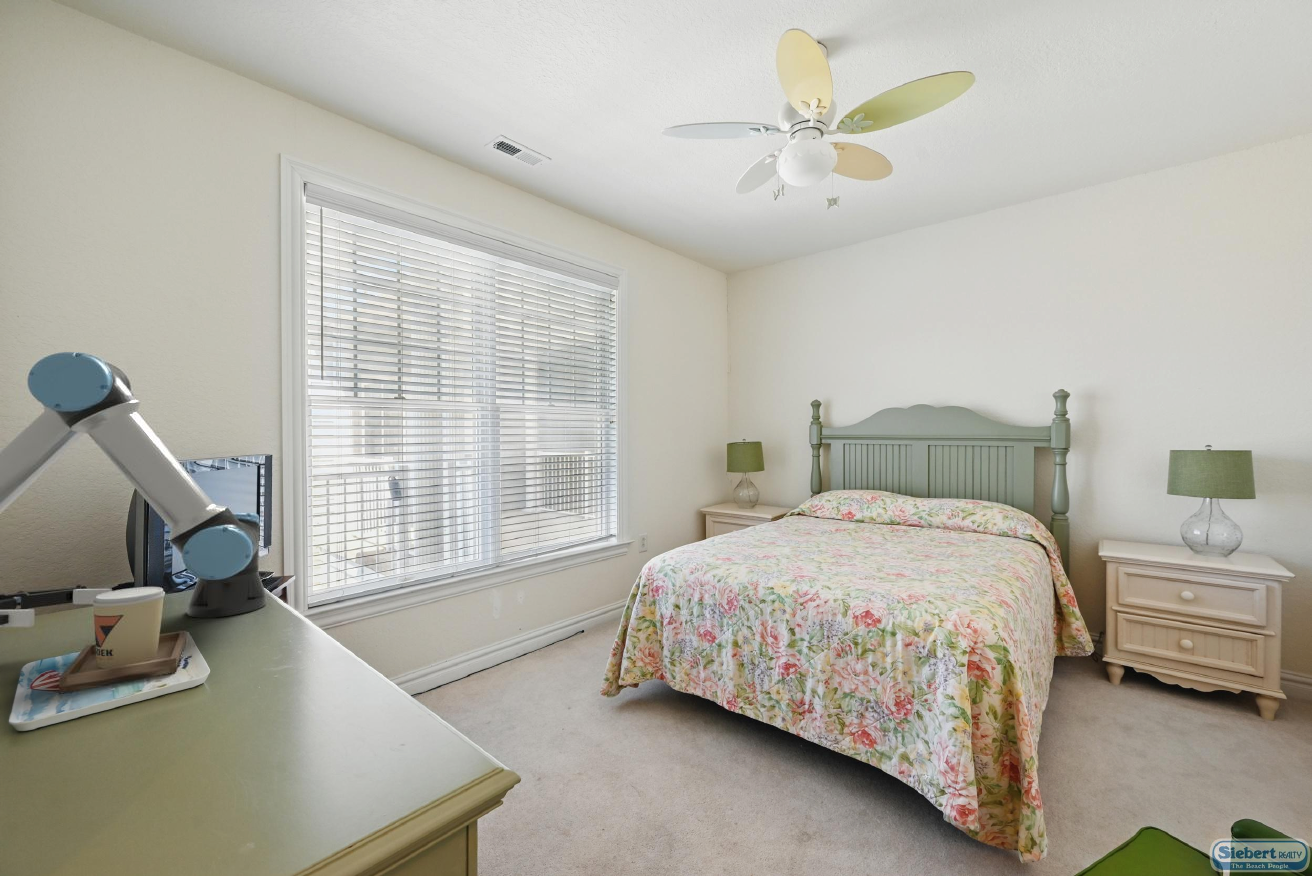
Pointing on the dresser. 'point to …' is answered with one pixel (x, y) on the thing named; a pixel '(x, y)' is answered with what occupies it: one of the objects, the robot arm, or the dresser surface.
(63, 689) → the walnut tray
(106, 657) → the coffee cup
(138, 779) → the dresser surface
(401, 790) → the dresser surface
